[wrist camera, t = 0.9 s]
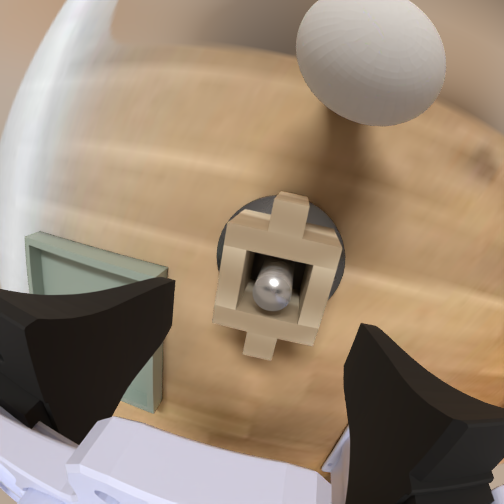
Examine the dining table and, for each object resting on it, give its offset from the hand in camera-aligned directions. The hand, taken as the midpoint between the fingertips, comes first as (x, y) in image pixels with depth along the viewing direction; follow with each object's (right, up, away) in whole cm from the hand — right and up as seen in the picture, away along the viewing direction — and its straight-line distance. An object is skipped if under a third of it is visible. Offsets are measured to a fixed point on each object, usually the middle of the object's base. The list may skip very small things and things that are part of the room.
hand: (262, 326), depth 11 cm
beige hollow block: (+1, +2, +8) cm, 8 cm away
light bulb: (+5, +12, +5) cm, 14 cm away
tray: (-14, -3, +12) cm, 19 cm away
